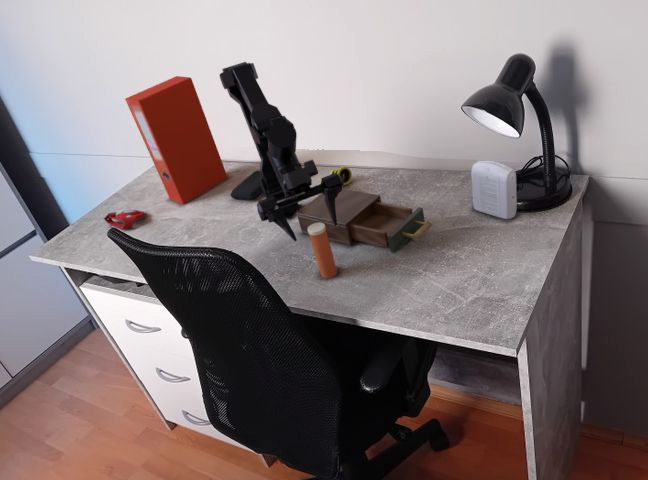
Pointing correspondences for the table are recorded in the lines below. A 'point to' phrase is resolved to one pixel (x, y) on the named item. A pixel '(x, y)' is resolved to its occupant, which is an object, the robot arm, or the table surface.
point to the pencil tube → (322, 250)
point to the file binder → (178, 138)
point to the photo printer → (494, 189)
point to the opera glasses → (344, 174)
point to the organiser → (337, 214)
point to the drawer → (389, 225)
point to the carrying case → (248, 188)
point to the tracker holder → (124, 218)
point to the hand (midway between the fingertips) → (316, 232)
